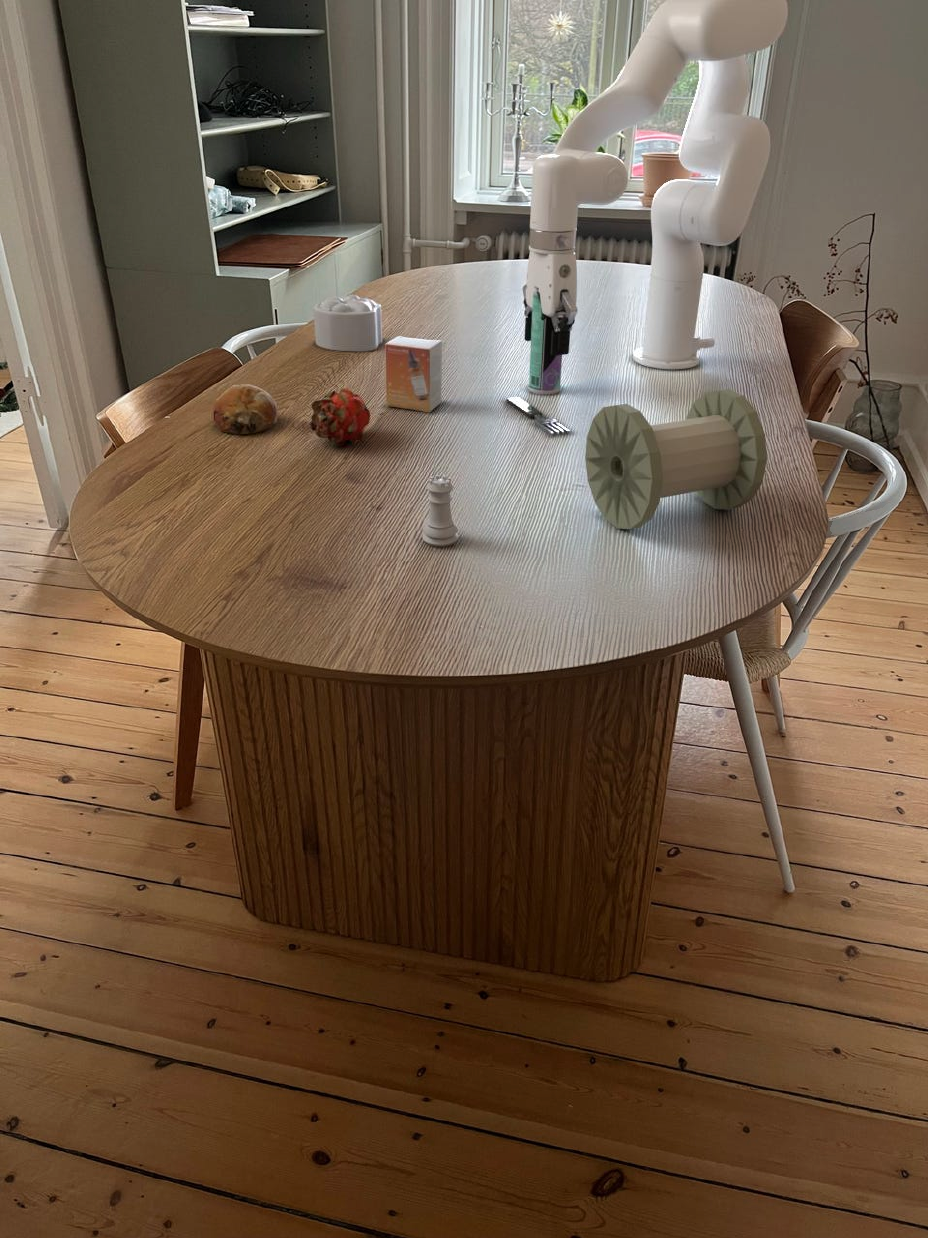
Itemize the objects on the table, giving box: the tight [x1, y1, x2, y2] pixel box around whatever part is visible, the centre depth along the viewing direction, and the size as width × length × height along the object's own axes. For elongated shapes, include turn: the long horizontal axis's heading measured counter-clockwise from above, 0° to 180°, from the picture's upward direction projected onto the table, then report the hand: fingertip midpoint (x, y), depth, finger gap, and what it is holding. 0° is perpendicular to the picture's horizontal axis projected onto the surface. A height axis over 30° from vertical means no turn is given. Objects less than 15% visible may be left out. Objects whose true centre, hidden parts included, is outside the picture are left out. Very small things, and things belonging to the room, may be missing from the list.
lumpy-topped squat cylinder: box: [313, 294, 383, 352], centre depth 186 cm, size 10×13×9 cm
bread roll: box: [212, 383, 279, 435], centre depth 147 cm, size 10×10×8 cm
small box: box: [384, 335, 443, 413], centre depth 154 cm, size 8×6×10 cm
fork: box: [505, 396, 570, 437], centre depth 152 cm, size 17×3×1 cm, turn 24°
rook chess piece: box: [421, 474, 459, 548], centre depth 112 cm, size 4×4×8 cm
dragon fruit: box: [309, 387, 371, 447], centre depth 141 cm, size 8×8×12 cm
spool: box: [584, 388, 768, 530], centre depth 118 cm, size 16×15×15 cm
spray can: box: [528, 286, 563, 396], centre depth 159 cm, size 6×6×20 cm
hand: (546, 347), depth 161 cm, fingers open, 9 cm apart
